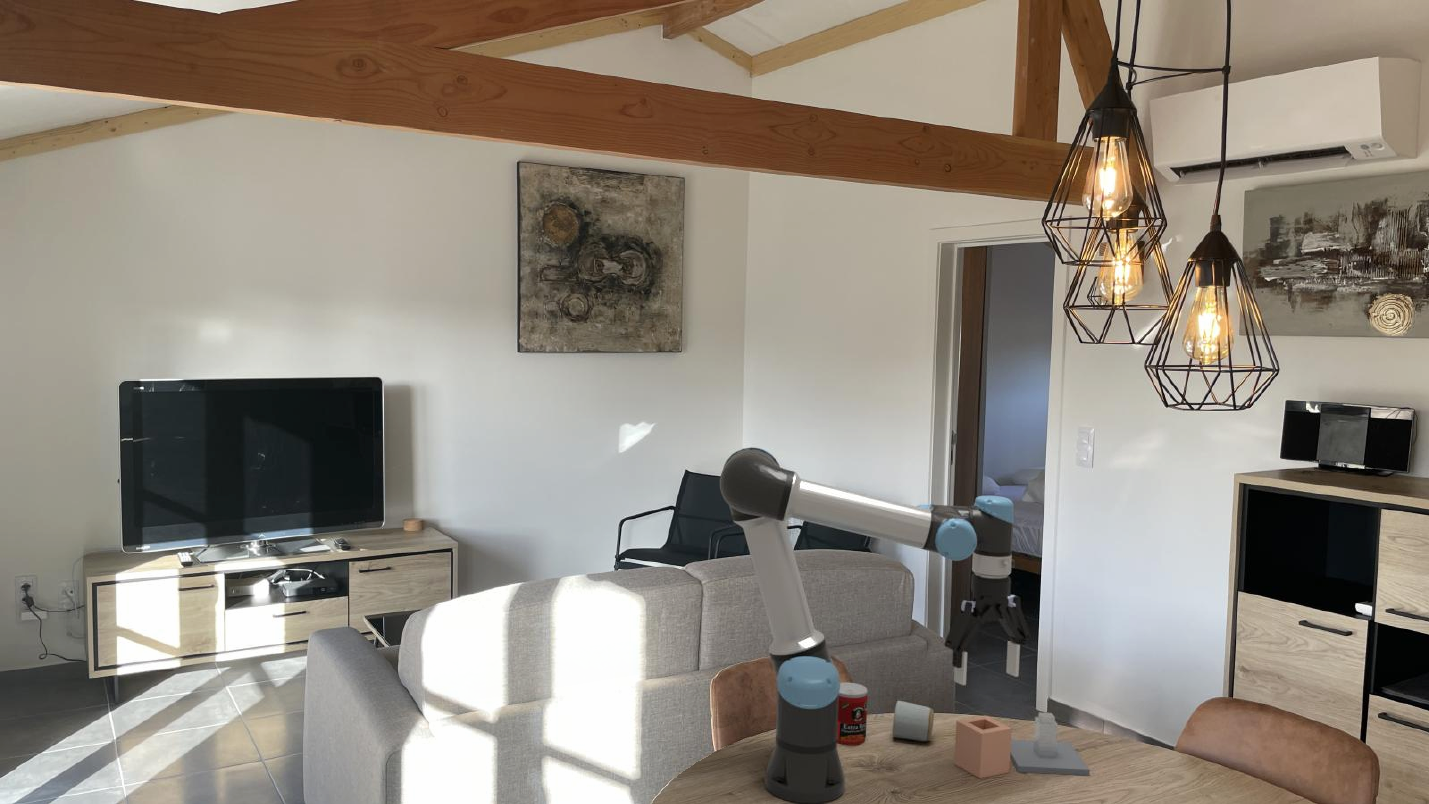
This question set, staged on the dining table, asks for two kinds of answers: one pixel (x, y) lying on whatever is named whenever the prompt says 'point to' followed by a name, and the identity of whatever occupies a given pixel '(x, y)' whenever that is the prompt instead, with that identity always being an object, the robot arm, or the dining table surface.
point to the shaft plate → (1047, 759)
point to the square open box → (983, 746)
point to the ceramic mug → (913, 721)
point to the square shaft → (1045, 735)
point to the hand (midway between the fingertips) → (986, 679)
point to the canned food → (852, 714)
